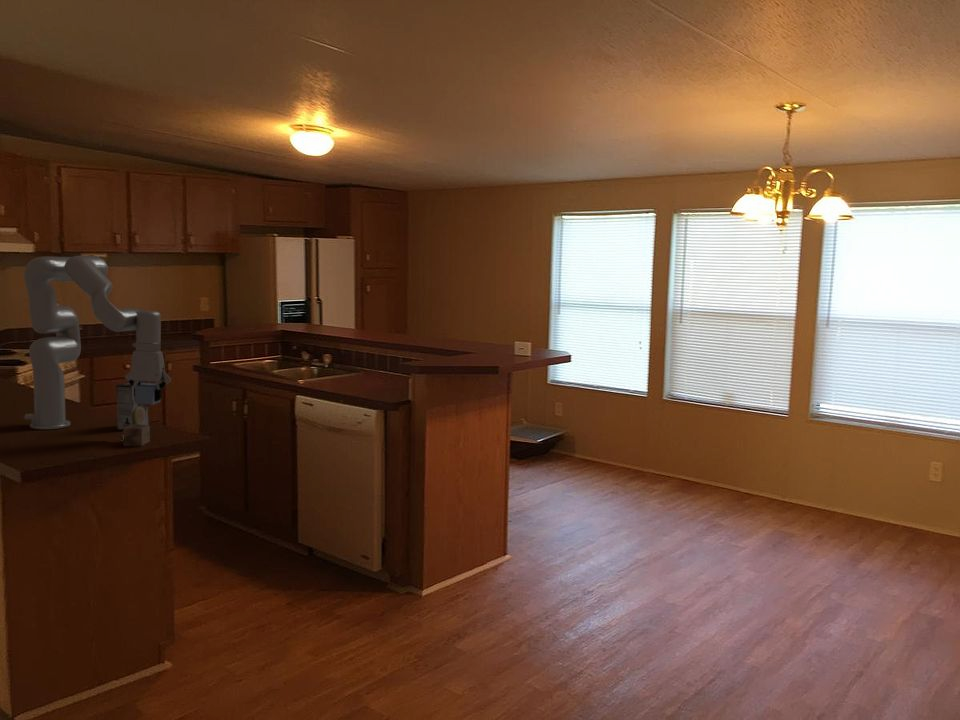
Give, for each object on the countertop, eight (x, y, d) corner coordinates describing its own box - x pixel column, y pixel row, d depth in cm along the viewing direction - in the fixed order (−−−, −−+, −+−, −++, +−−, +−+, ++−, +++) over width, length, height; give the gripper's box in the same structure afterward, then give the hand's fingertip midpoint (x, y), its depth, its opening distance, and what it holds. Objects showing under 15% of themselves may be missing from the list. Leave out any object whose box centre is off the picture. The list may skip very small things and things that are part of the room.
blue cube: (135, 403, 257) (135, 386, 256) (142, 400, 263) (143, 383, 262) (152, 404, 257) (153, 387, 256) (160, 401, 263) (160, 384, 262)
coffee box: (133, 424, 280) (132, 381, 278) (149, 425, 279) (148, 382, 277) (116, 429, 271) (115, 384, 269) (132, 430, 270) (132, 385, 268)
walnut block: (123, 446, 248) (123, 428, 248) (131, 442, 254) (131, 424, 254) (141, 447, 248) (141, 428, 248) (149, 442, 254) (149, 425, 254)
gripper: (117, 347, 254) (117, 400, 256) (169, 350, 254) (168, 403, 256) (127, 344, 261) (127, 396, 263) (178, 347, 261) (177, 399, 264)
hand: (147, 399), depth 260 cm, fingers closed on blue cube, 6 cm apart
